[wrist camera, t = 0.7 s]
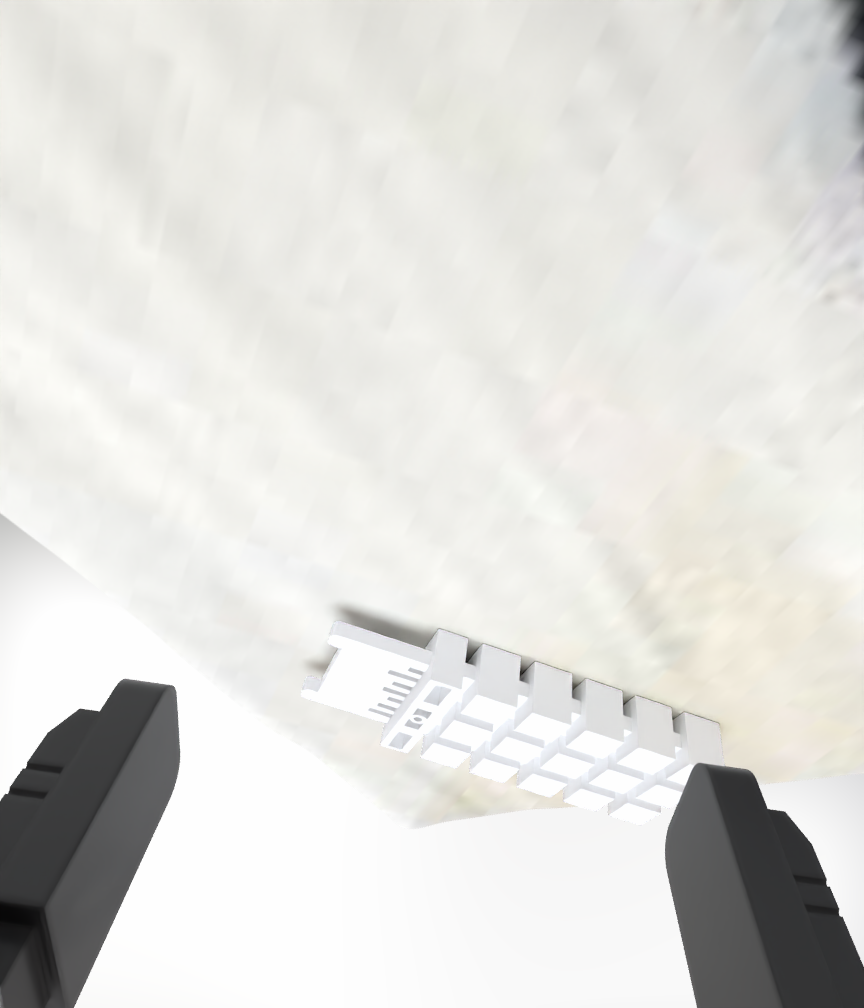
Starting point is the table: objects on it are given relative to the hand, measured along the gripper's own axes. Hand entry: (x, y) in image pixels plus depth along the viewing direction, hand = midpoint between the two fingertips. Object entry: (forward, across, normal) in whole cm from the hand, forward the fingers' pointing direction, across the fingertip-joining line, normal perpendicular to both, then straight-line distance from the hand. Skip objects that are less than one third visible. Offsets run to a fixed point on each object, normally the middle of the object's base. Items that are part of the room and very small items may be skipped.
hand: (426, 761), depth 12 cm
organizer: (+44, -8, +38) cm, 58 cm away
